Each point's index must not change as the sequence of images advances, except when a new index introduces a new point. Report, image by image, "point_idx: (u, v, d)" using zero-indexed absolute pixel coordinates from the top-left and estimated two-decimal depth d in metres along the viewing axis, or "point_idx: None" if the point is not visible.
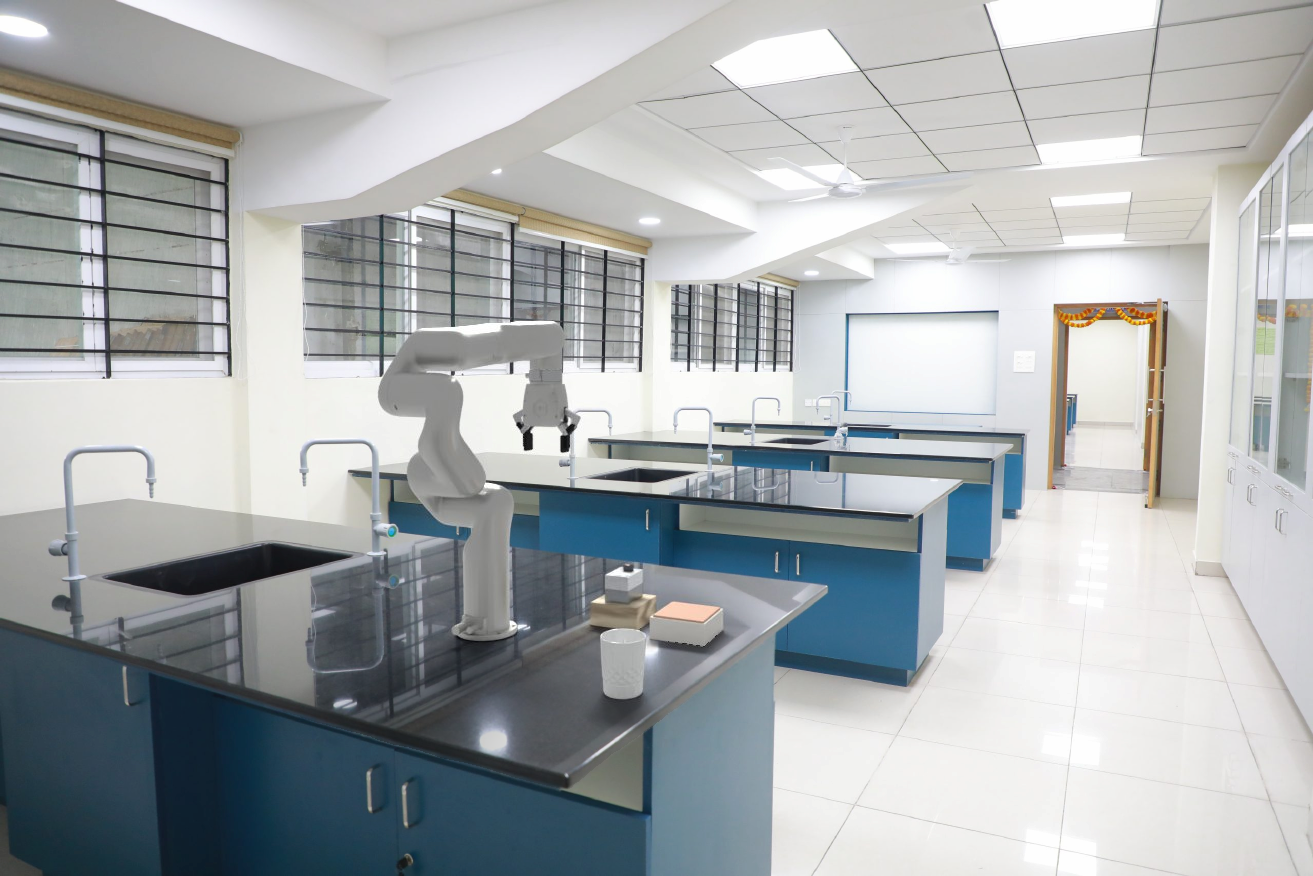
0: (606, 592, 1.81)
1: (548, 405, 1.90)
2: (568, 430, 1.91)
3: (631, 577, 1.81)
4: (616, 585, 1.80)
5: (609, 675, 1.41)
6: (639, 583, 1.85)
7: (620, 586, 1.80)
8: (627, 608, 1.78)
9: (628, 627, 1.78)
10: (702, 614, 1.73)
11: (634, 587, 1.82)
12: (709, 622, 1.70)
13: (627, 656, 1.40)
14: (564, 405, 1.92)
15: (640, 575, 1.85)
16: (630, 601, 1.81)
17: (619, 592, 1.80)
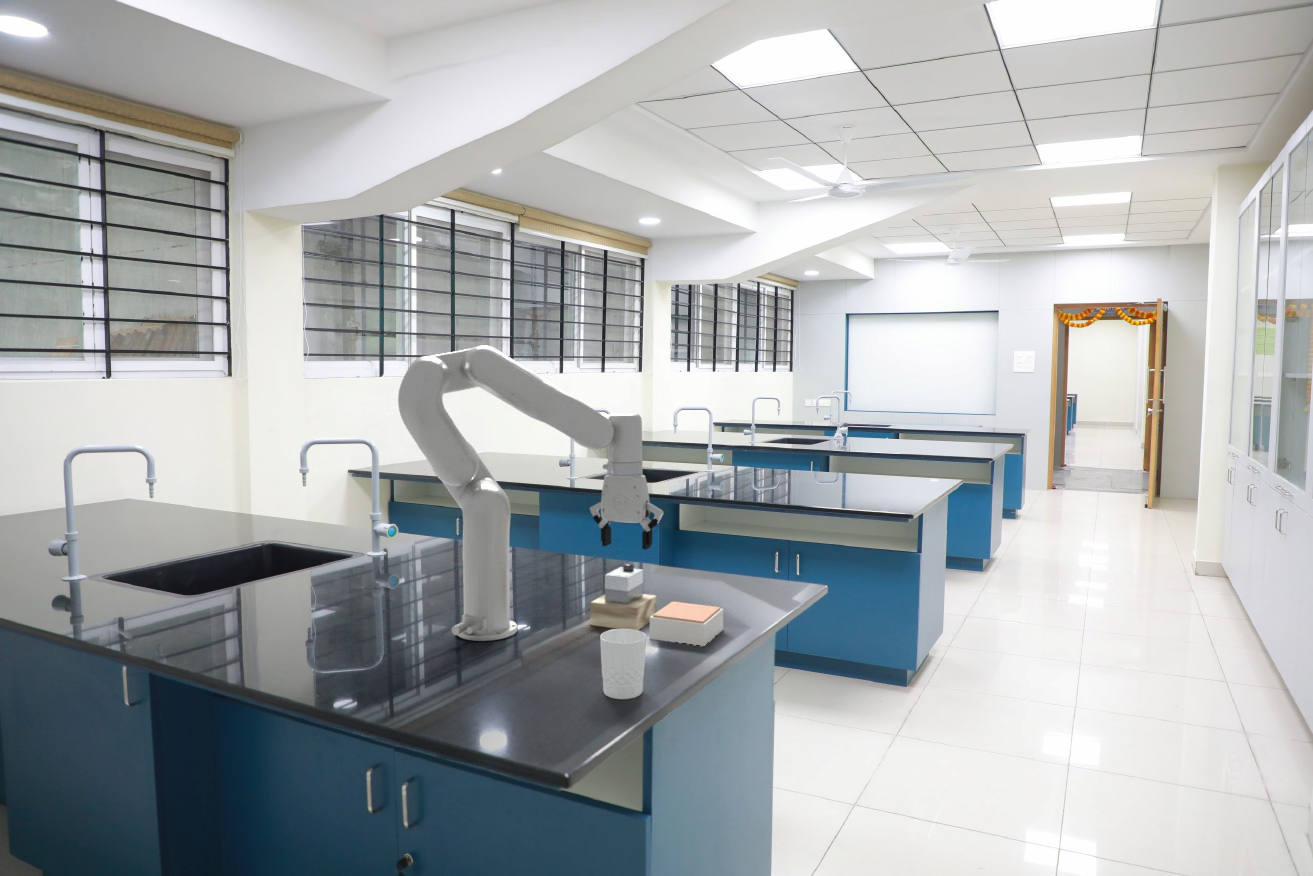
0: (606, 592, 1.81)
1: (629, 500, 1.79)
2: (651, 526, 1.80)
3: (631, 577, 1.81)
4: (616, 585, 1.80)
5: (609, 675, 1.41)
6: (639, 583, 1.85)
7: (620, 586, 1.80)
8: (627, 608, 1.78)
9: (628, 627, 1.78)
10: (702, 614, 1.73)
11: (634, 587, 1.82)
12: (709, 622, 1.70)
13: (627, 656, 1.40)
14: (646, 499, 1.80)
15: (640, 575, 1.85)
16: (630, 601, 1.81)
17: (619, 592, 1.80)
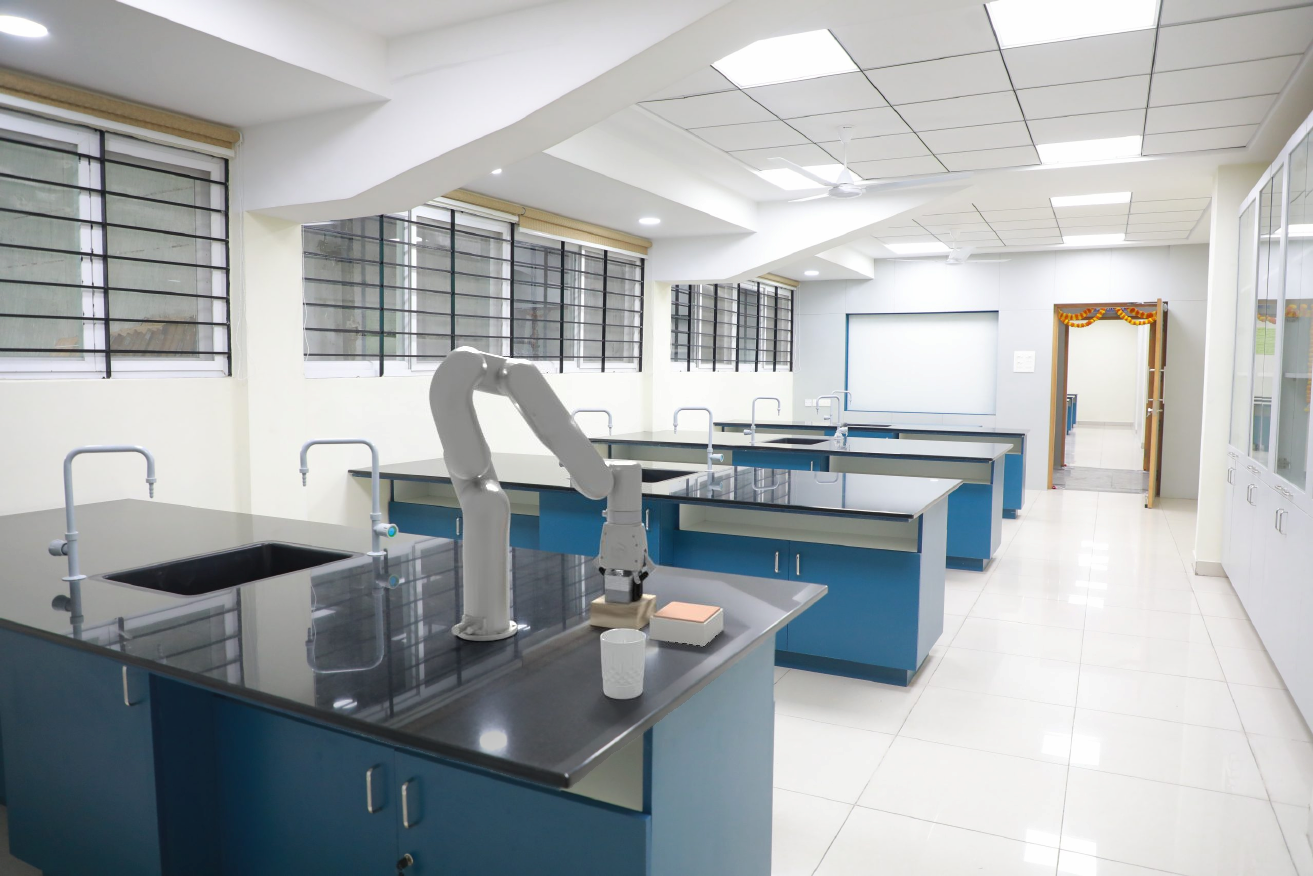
0: (606, 592, 1.81)
1: (628, 548, 1.80)
2: (642, 579, 1.81)
3: (631, 577, 1.81)
4: (616, 585, 1.80)
5: (609, 675, 1.41)
6: None
7: (620, 586, 1.80)
8: (627, 608, 1.78)
9: (628, 627, 1.78)
10: (702, 614, 1.73)
11: None
12: (709, 622, 1.70)
13: (627, 656, 1.40)
14: (644, 548, 1.81)
15: None
16: (630, 601, 1.81)
17: (619, 592, 1.80)
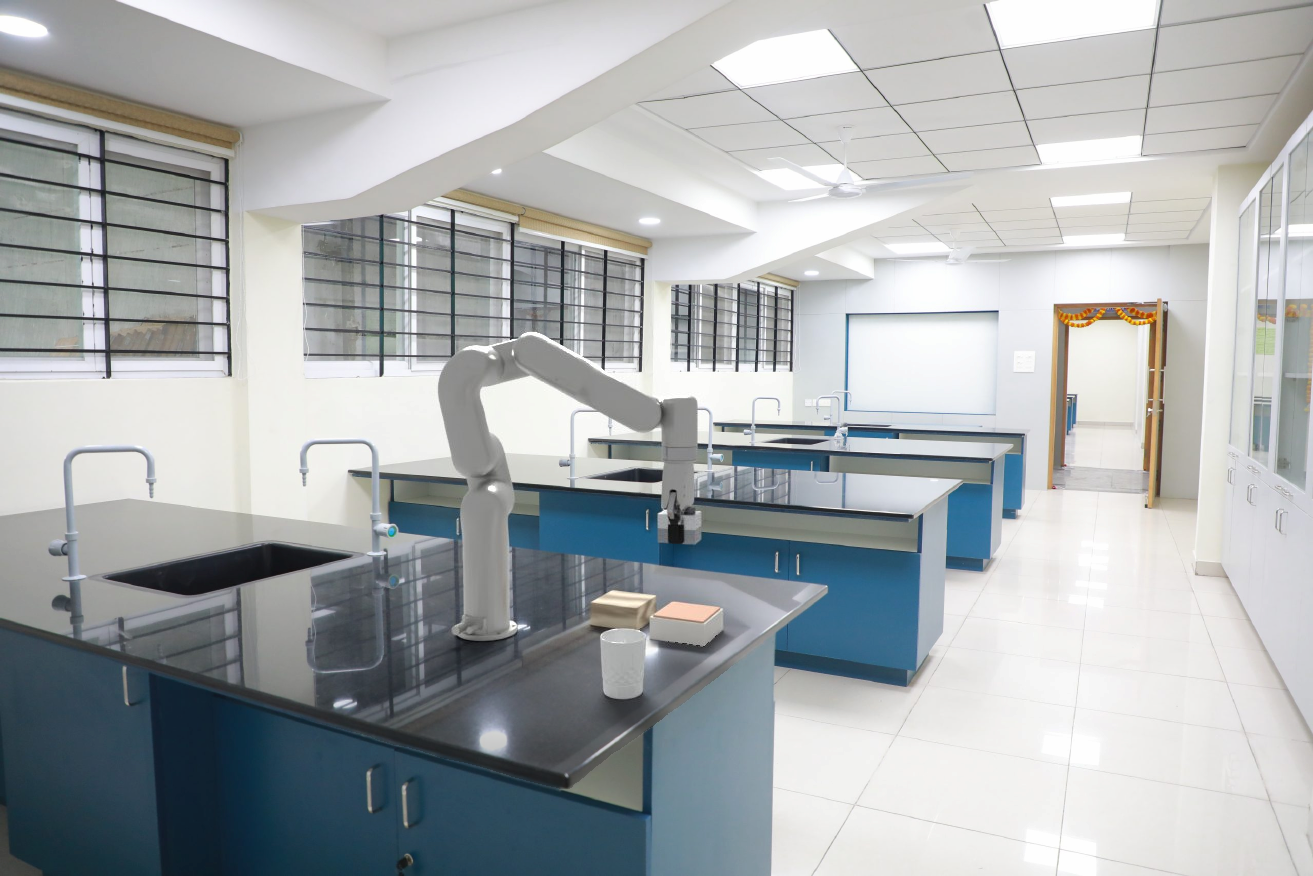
0: None
1: None
2: None
3: (666, 516, 1.73)
4: None
5: (609, 675, 1.41)
6: (686, 528, 1.72)
7: None
8: (627, 608, 1.78)
9: (628, 627, 1.78)
10: (702, 614, 1.73)
11: None
12: (709, 622, 1.70)
13: (627, 656, 1.40)
14: (672, 488, 1.70)
15: (688, 520, 1.72)
16: (664, 540, 1.74)
17: None
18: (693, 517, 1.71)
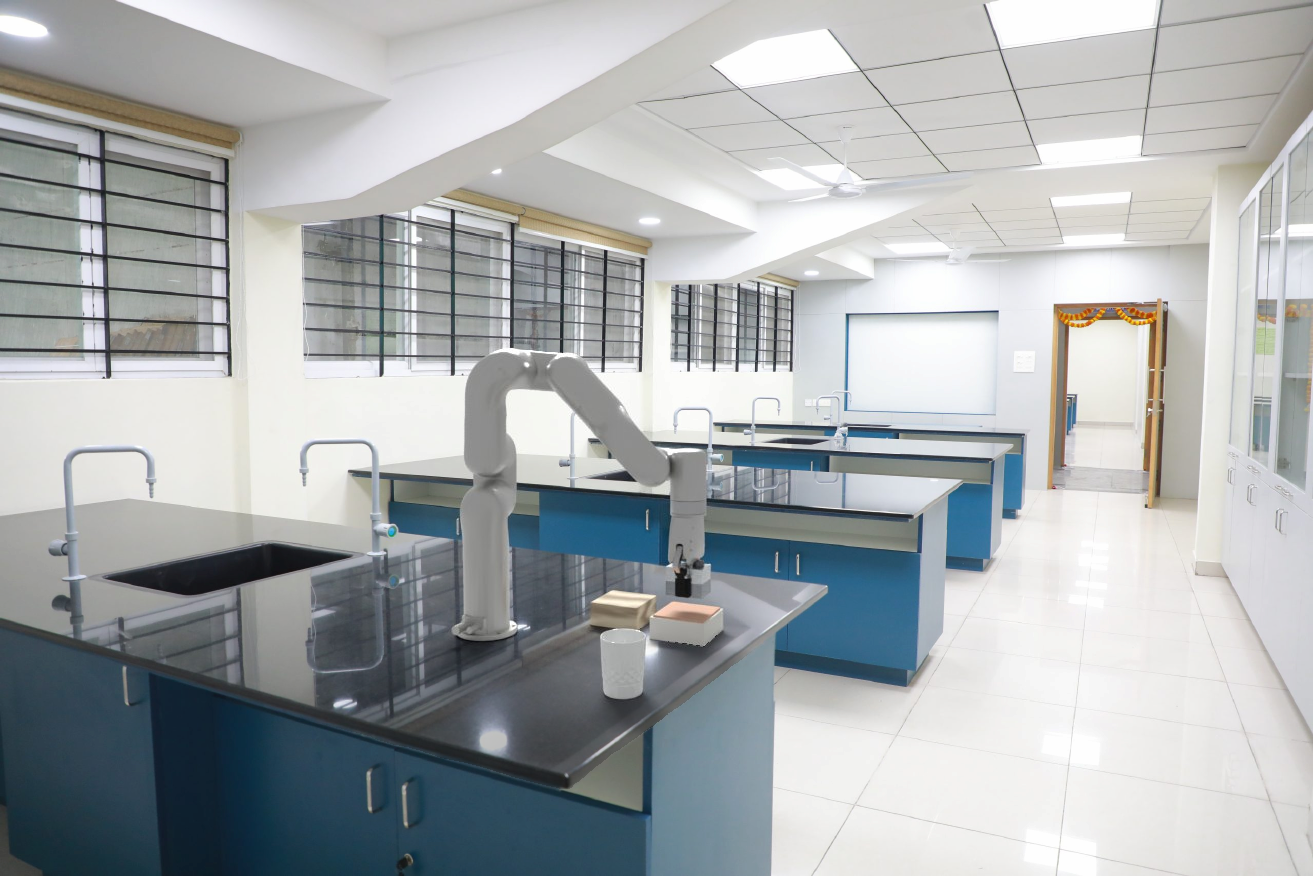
0: None
1: None
2: None
3: (673, 569, 1.73)
4: None
5: (609, 675, 1.41)
6: (693, 582, 1.71)
7: None
8: (627, 608, 1.78)
9: (628, 627, 1.78)
10: (702, 614, 1.73)
11: None
12: (709, 622, 1.70)
13: (627, 656, 1.40)
14: (678, 542, 1.70)
15: (695, 574, 1.71)
16: (671, 593, 1.73)
17: None
18: (700, 571, 1.71)
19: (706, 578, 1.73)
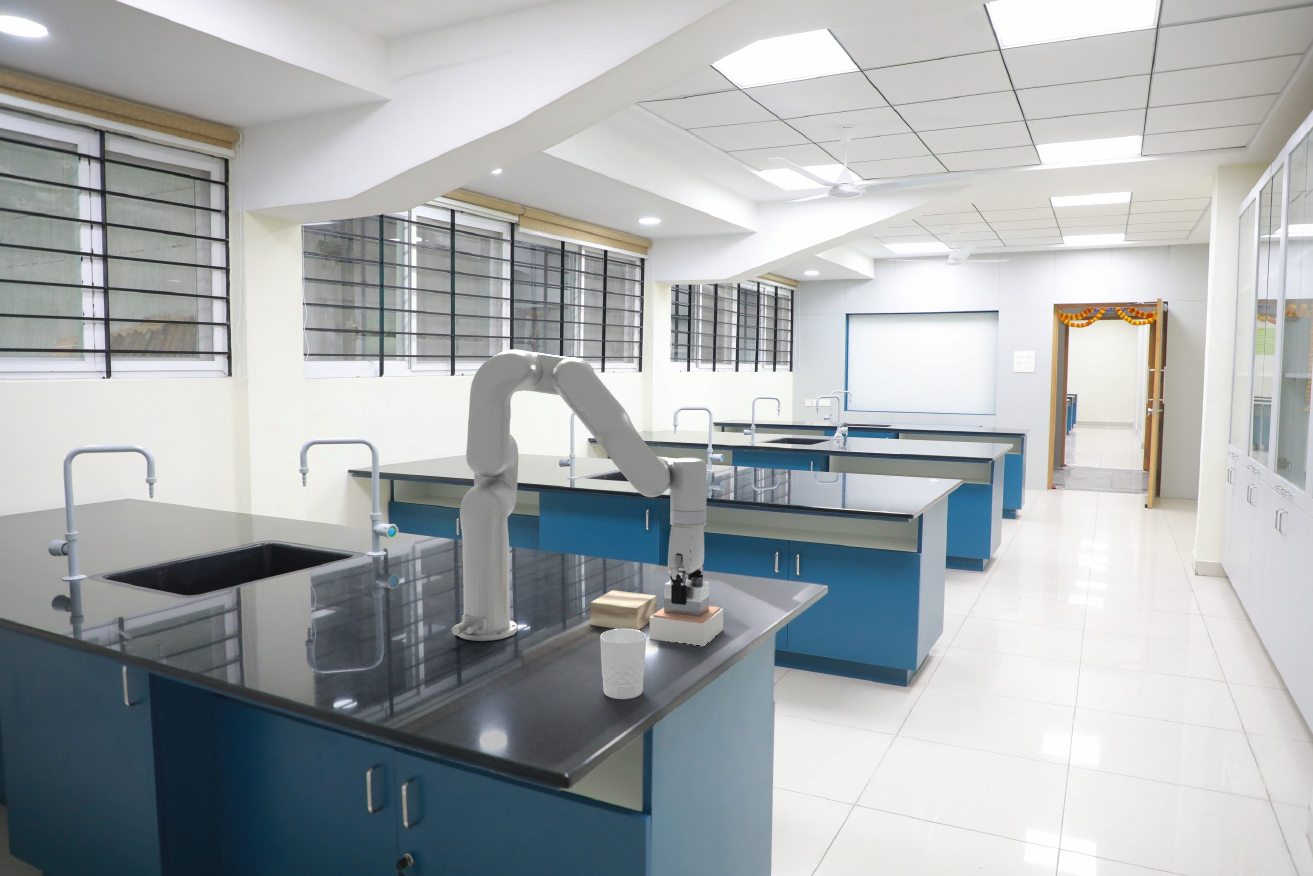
0: None
1: None
2: None
3: None
4: None
5: (609, 675, 1.41)
6: (691, 600, 1.72)
7: None
8: (627, 608, 1.78)
9: (628, 627, 1.78)
10: None
11: None
12: (709, 622, 1.70)
13: (627, 656, 1.40)
14: (678, 552, 1.70)
15: (694, 592, 1.71)
16: (670, 611, 1.74)
17: None
18: (699, 589, 1.71)
19: (704, 596, 1.74)
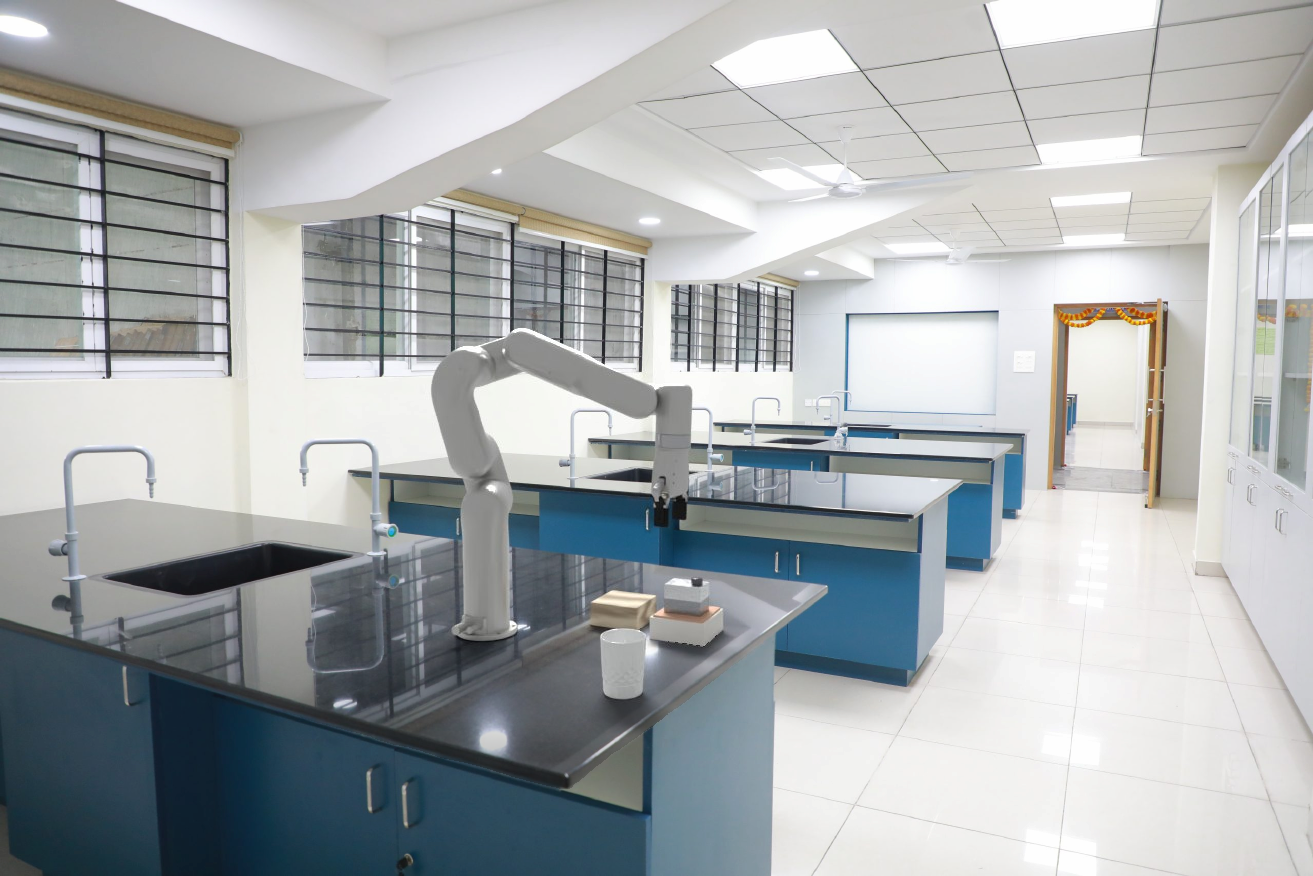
0: None
1: None
2: None
3: (672, 586, 1.73)
4: None
5: (609, 675, 1.41)
6: (691, 600, 1.72)
7: None
8: (627, 608, 1.78)
9: (628, 627, 1.78)
10: None
11: (679, 600, 1.73)
12: (709, 622, 1.70)
13: (627, 656, 1.40)
14: (661, 474, 1.71)
15: (694, 592, 1.71)
16: (670, 611, 1.74)
17: None
18: (699, 589, 1.71)
19: (704, 596, 1.74)
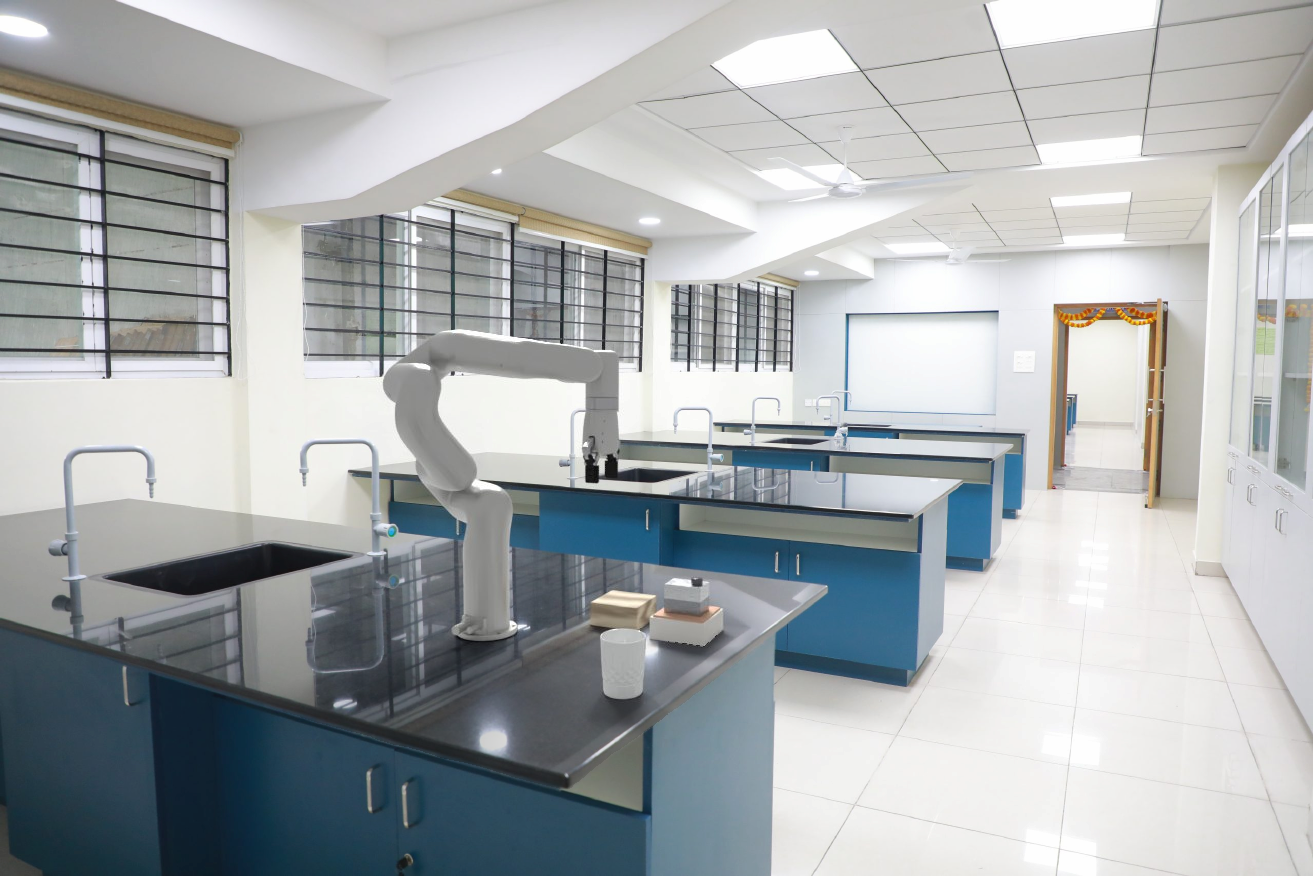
0: None
1: None
2: None
3: (672, 586, 1.73)
4: None
5: (609, 675, 1.41)
6: (691, 600, 1.72)
7: None
8: (627, 608, 1.78)
9: (628, 627, 1.78)
10: None
11: (679, 600, 1.73)
12: (709, 622, 1.70)
13: (627, 656, 1.40)
14: (591, 434, 1.84)
15: (694, 592, 1.71)
16: (670, 611, 1.74)
17: None
18: (699, 589, 1.71)
19: (704, 596, 1.74)
